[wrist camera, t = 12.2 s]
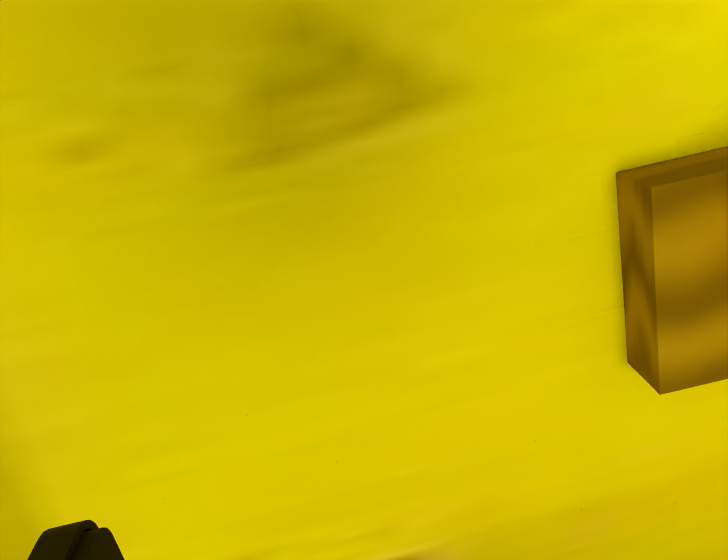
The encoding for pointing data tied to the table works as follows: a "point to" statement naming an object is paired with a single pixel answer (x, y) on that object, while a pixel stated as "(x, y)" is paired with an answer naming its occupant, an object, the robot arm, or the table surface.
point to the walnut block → (676, 269)
